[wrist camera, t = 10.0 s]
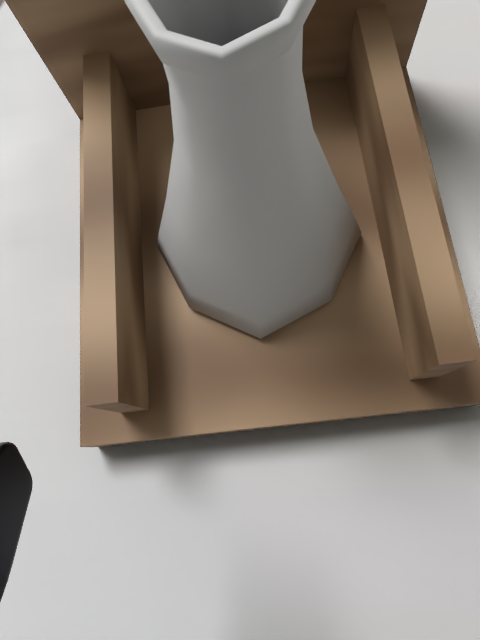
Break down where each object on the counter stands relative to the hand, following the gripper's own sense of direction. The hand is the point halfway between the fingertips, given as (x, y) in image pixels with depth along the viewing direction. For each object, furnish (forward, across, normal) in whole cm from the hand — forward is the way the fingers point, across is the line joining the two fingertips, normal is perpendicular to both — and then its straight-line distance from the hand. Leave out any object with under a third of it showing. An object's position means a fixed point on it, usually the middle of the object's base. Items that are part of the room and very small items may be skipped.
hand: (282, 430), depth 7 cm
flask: (+11, 0, 0) cm, 11 cm away
